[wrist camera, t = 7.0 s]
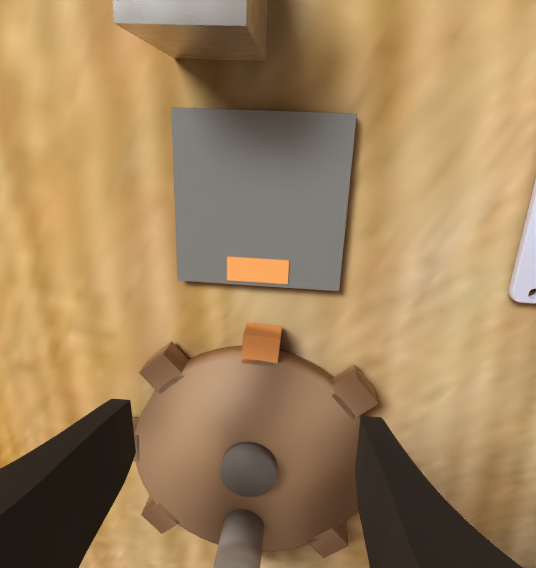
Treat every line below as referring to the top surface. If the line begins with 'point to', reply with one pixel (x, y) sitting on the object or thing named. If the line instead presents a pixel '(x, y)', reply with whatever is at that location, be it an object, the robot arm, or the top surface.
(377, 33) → the top surface
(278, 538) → the sprocket wheel
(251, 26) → the link block
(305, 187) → the mat
